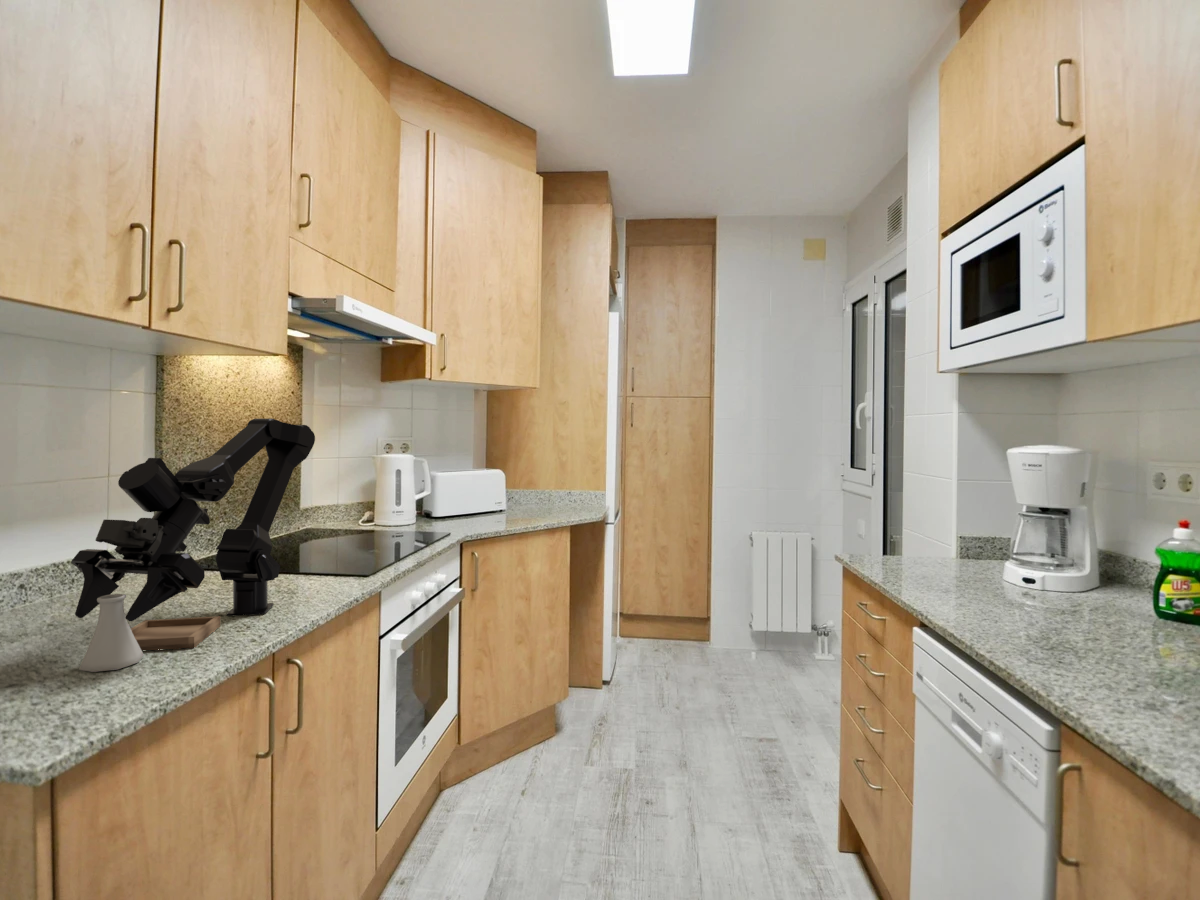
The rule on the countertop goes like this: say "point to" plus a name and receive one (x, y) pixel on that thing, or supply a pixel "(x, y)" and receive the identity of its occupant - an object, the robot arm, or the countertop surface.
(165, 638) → the walnut tray
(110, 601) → the flask
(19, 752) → the countertop surface
